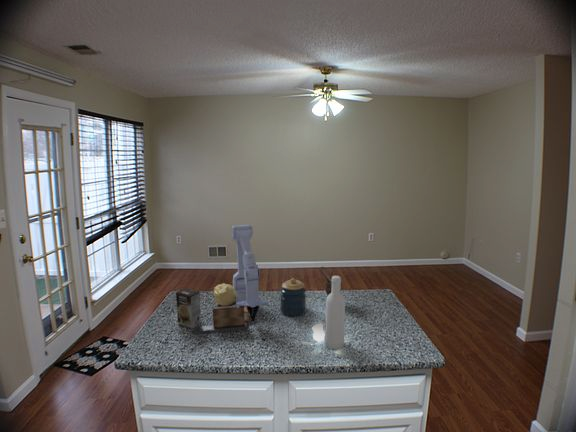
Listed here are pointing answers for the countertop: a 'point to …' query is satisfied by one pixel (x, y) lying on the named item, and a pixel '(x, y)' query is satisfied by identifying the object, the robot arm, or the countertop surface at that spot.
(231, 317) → the panel
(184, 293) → the coffee box
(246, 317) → the cube
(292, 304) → the canister
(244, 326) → the rail
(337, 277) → the bottle
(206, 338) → the countertop surface
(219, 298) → the sculpture
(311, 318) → the countertop surface
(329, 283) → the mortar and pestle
